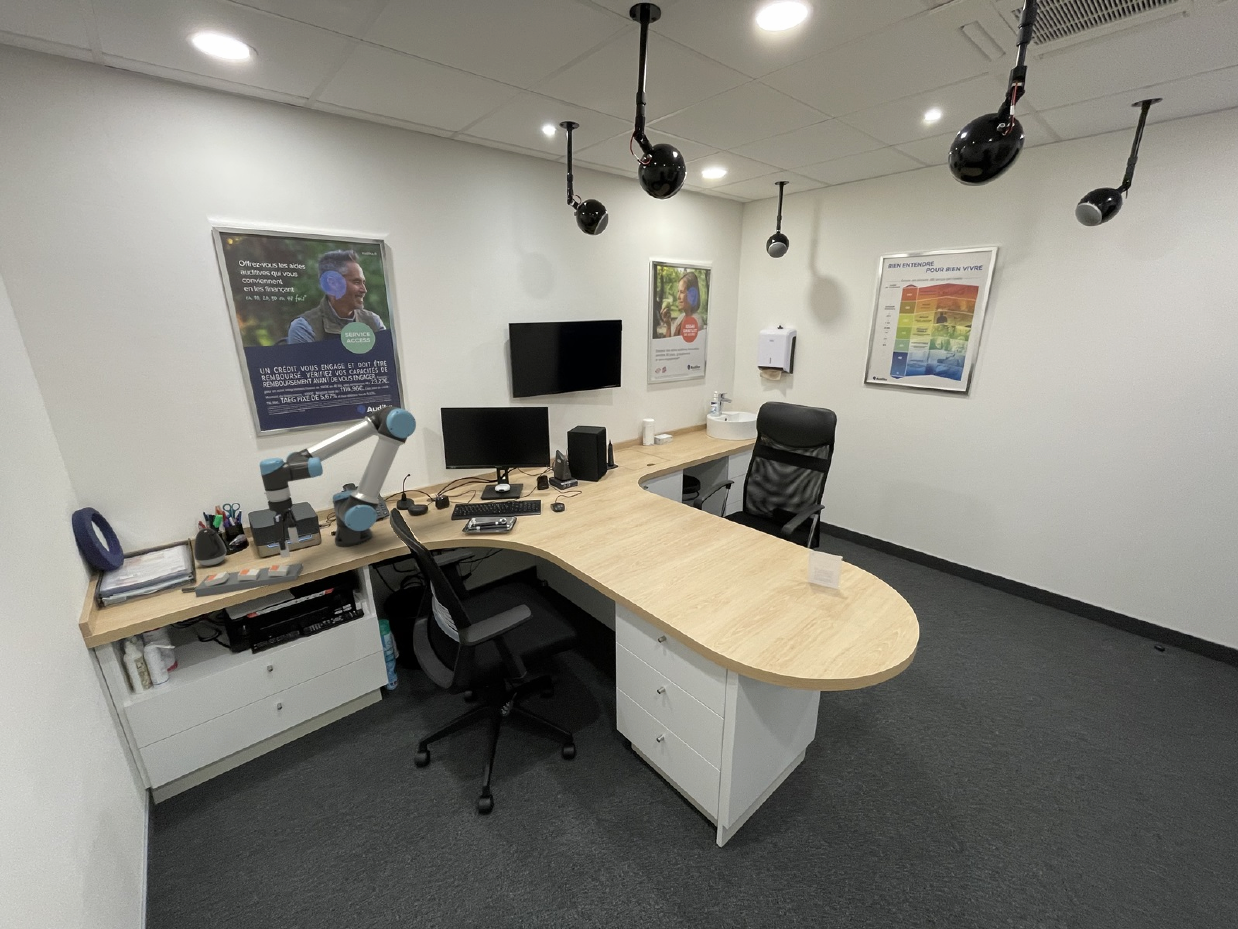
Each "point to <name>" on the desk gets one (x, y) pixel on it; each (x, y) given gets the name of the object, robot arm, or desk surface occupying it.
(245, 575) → the block
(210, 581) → the rocker
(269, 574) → the rocker
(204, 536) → the dark grey rounded dome
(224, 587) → the power strip
